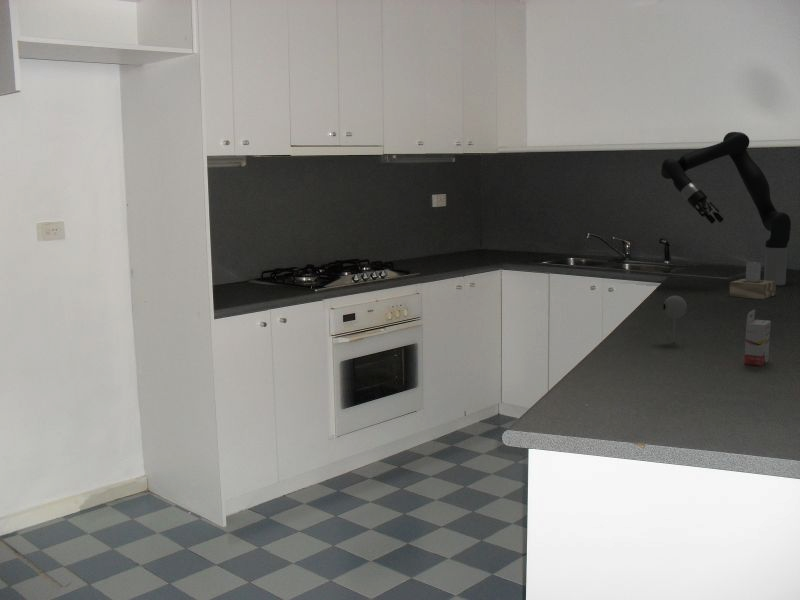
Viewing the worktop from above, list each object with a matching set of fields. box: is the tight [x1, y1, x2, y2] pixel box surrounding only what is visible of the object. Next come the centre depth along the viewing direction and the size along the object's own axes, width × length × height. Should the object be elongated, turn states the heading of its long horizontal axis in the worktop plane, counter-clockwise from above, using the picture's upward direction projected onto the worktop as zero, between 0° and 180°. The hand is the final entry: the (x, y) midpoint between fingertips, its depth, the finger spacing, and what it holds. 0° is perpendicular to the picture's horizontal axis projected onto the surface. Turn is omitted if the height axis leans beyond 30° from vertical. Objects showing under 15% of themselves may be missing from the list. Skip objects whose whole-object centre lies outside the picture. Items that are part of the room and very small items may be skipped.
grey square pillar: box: [745, 261, 762, 283], centre depth 375 cm, size 4×4×14 cm
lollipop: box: [662, 295, 688, 343], centre depth 281 cm, size 7×7×15 cm
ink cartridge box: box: [744, 309, 772, 367], centre depth 250 cm, size 9×5×15 cm, turn 145°
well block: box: [729, 278, 777, 300], centre depth 376 cm, size 14×14×6 cm
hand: (718, 221), depth 386 cm, fingers open, 8 cm apart
